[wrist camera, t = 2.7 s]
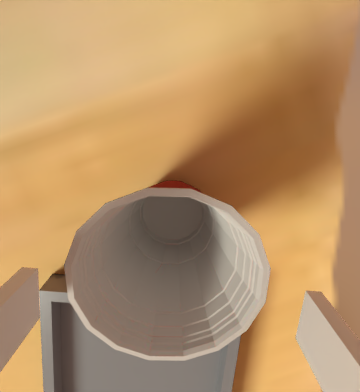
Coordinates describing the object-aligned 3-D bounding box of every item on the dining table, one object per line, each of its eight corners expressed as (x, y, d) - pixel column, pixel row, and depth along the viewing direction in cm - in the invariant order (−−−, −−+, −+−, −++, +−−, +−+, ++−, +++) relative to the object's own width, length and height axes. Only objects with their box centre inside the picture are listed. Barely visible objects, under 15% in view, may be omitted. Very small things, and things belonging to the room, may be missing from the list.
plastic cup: (127, 275, 29) (90, 385, 17) (100, 165, 26) (34, 206, 14) (240, 258, 28) (281, 359, 16) (225, 143, 25) (262, 168, 14)
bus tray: (52, 273, 28) (39, 290, 26) (239, 288, 29) (245, 306, 26) (56, 418, 33) (45, 444, 31) (217, 429, 34) (220, 456, 31)
